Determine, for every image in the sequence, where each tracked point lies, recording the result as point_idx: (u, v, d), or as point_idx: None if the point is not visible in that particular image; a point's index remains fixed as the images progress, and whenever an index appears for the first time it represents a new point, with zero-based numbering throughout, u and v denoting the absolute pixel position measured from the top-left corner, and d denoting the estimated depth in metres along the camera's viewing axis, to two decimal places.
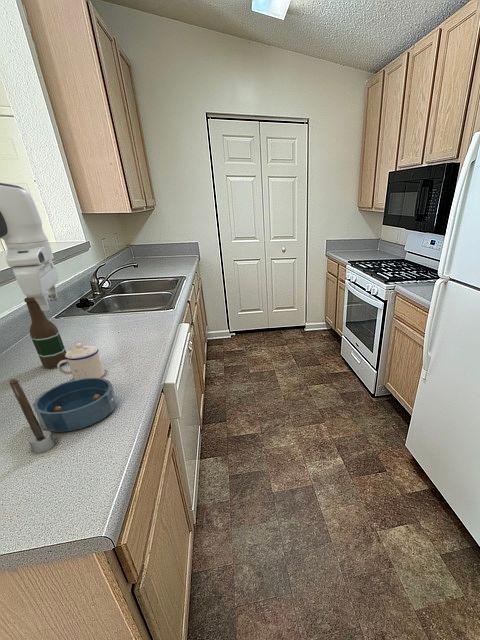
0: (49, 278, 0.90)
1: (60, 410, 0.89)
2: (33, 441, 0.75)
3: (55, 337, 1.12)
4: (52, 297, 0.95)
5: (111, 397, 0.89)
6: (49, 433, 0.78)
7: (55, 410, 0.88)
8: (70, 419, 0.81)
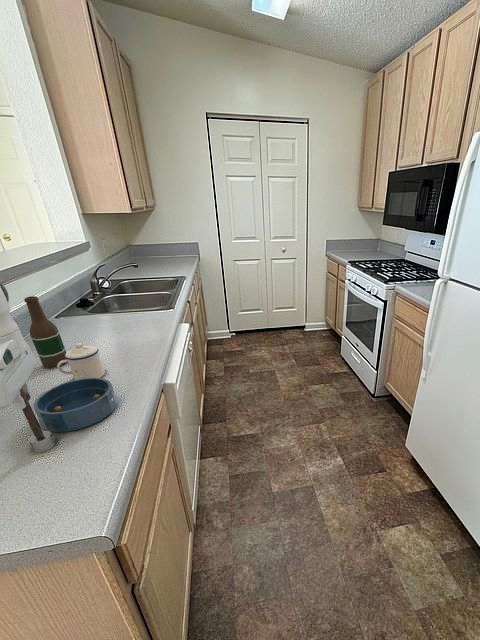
0: (21, 372, 0.71)
1: (60, 410, 0.89)
2: (33, 441, 0.75)
3: (55, 337, 1.12)
4: None
5: (111, 397, 0.89)
6: (49, 433, 0.78)
7: (55, 410, 0.88)
8: (70, 419, 0.81)
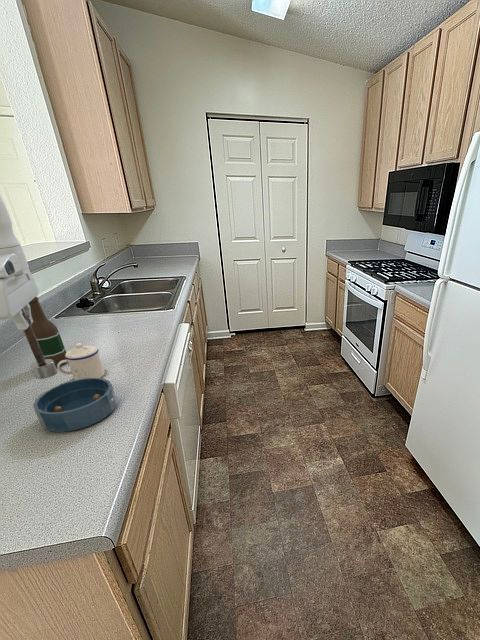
0: (23, 293, 0.71)
1: (60, 410, 0.89)
2: (35, 366, 0.75)
3: (55, 337, 1.12)
4: None
5: (111, 397, 0.89)
6: (51, 361, 0.78)
7: (55, 410, 0.88)
8: (70, 419, 0.81)
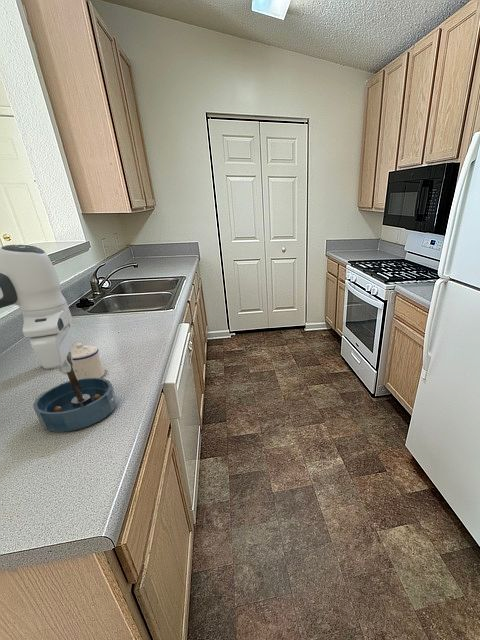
0: (67, 341, 0.82)
1: (60, 410, 0.89)
2: (75, 402, 0.87)
3: None
4: None
5: (111, 397, 0.89)
6: (88, 396, 0.89)
7: (55, 410, 0.88)
8: (70, 419, 0.81)
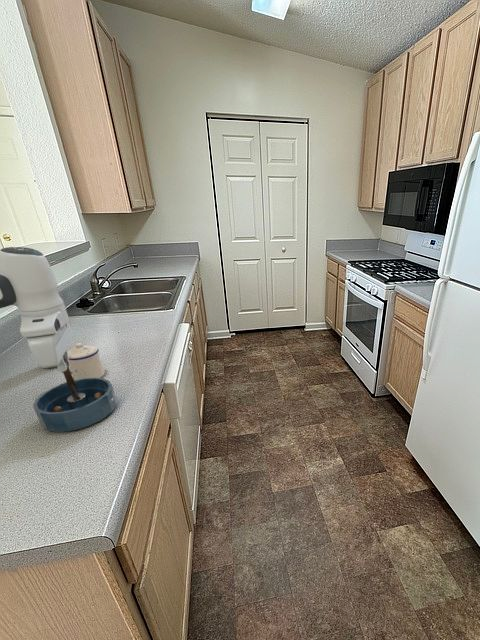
0: (64, 341, 0.84)
1: (60, 410, 0.89)
2: (71, 400, 0.89)
3: None
4: None
5: (111, 397, 0.89)
6: (84, 395, 0.91)
7: (55, 410, 0.88)
8: (70, 419, 0.81)
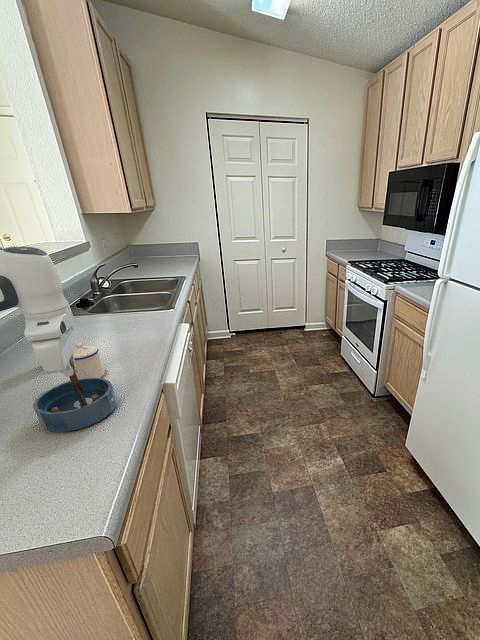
0: (70, 344, 0.81)
1: (56, 410, 0.88)
2: (78, 406, 0.86)
3: None
4: None
5: (111, 397, 0.89)
6: (91, 400, 0.88)
7: None
8: (70, 419, 0.81)
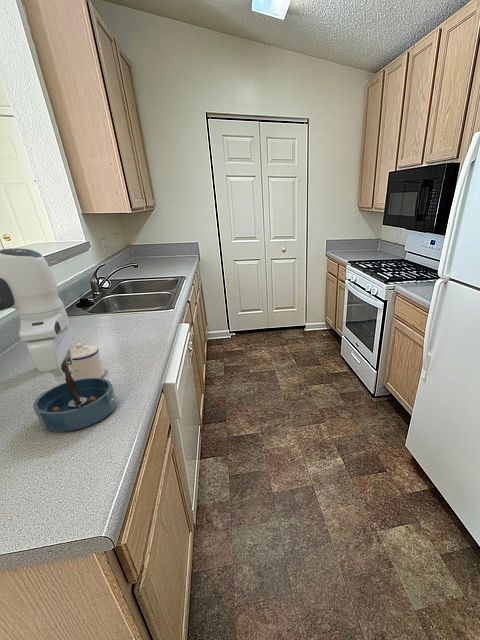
0: (64, 344, 0.82)
1: (57, 411, 0.88)
2: (72, 405, 0.87)
3: None
4: (67, 360, 0.87)
5: (111, 397, 0.89)
6: (85, 399, 0.89)
7: None
8: (70, 419, 0.81)
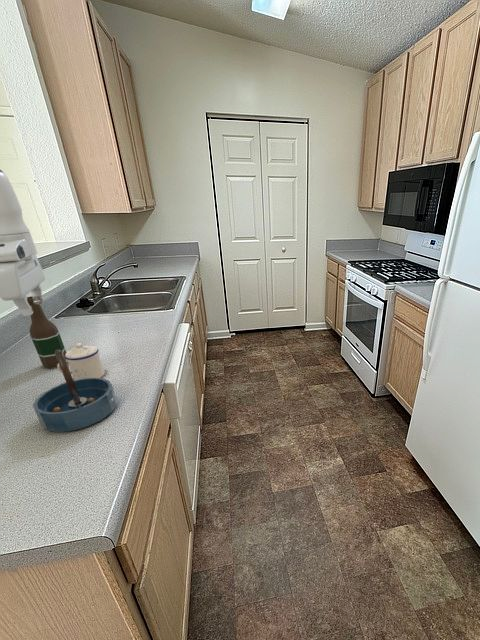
0: (32, 277, 0.76)
1: None
2: (72, 405, 0.87)
3: (55, 337, 1.12)
4: (37, 299, 0.81)
5: (111, 397, 0.89)
6: (85, 399, 0.89)
7: None
8: (70, 419, 0.81)
